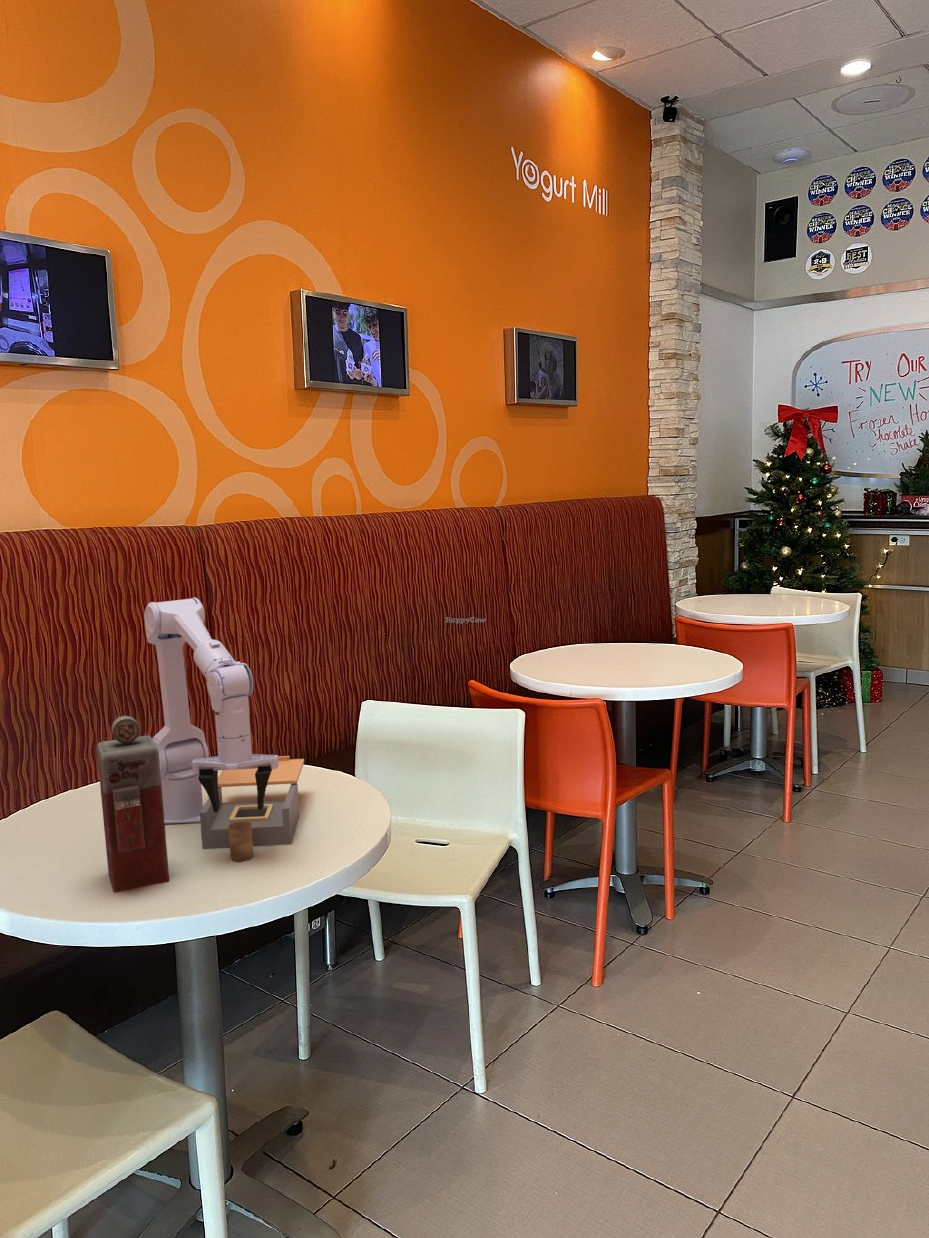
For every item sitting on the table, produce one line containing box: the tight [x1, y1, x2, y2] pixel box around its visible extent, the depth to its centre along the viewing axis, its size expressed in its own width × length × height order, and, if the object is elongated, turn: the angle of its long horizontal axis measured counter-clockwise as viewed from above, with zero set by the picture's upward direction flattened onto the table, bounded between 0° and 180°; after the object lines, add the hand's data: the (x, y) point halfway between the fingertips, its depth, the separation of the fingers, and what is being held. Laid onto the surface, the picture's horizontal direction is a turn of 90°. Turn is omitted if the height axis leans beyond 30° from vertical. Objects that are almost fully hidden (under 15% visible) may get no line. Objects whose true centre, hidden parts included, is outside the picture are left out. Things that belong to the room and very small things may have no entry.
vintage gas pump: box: [96, 715, 170, 893], centre depth 156 cm, size 9×11×28 cm
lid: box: [218, 755, 305, 788], centre depth 190 cm, size 16×14×1 cm
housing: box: [199, 782, 300, 849], centre depth 178 cm, size 16×14×7 cm
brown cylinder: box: [228, 821, 255, 863], centre depth 166 cm, size 4×4×6 cm
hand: (238, 808), depth 165 cm, fingers open, 7 cm apart
